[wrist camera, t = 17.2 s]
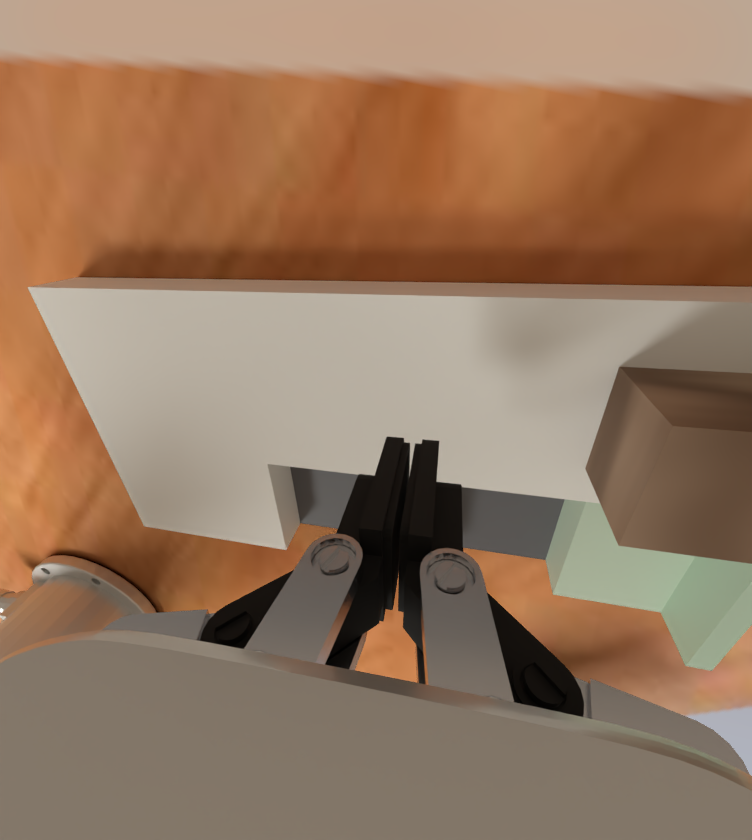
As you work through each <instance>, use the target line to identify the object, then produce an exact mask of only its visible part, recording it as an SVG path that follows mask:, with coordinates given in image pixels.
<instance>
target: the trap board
mask: <svg viewBox="0 0 752 840" xmlns="http://www.w3.org/2000/svg"><path fill="white" fill-rule="evenodd" d="M28 289H29V291H30V293H31V295H32V297H33V299H34V301H35V304H36V306H37V308H38V310H39V312H40V314H41V316H42V318H43V320H44V322H45V324H46V326H47V328H48V330H49V332H50V334H51V336H52V338H53V340H54V342H55V345H56V347H57V349H58V351H59V353H60V355H61V357H62V359H63V361H64V363H65V365H66V367H67V369H68V371H69V373H70V375H71V377H72V379H73V381H74V383H75V385H76V388H77V390H78V392H79V394H80V396H81V398H82V400H83V402H84V404H85V406H86V408H87V410H88V412H89V414H90V416H91V418H92V420H93V422H94V424H95V426H96V429H97V431H98V433H99V435H100V437H101V439H102V441H103V443H104V445H105V447H106V449H107V451H108V453H109V455H110V457H111V459H112V461H113V463H114V465H115V467H116V470H117V472H118V474H119V476H120V478H121V480H122V482H123V484H124V486H125V488H126V490H127V492H128V494H129V496H130V498H131V500H132V502H133V504H134V506H135V508H136V510H137V513H138V515H139V517H140V519H141V521H142V523H143V525H144V526H145V527H151V528H157V529H163V530H169V531H175V532H181V533H187V534H193V535H199V536H205V537H211V538H217V539H223V540H229V541H235V542H241V543H247V544H253V545H259V546H265V547H271V548H277V549H283V550H287V548H288V546H289V544H290V542H291V540H292V538H293V536H294V534H295V532H296V530H297V529H298V527H299V525H300V523H303V524H310V525H317V526H323V527H330V528H337V529H338V527H339V525H340V522H341V519H342V517H343V514H344V511H345V508H346V506H347V503H348V500H349V498H350V495H351V492H352V489H353V487H354V484H355V481H356V479H357V476H358V475H359V474H365V475H375V473H376V470H377V466H378V463H379V460H380V457H381V453H382V450H383V447H384V443H385V440H386V437H387V436H388V437H400V438H404V442H406V443H410V469H409V476H410V470H411V464H412V459H413V453H414V447H415V443H418V444H422V439H424V440H436V441H439V453H438V467H437V481H436V482H443V483H453V484H461V485H462V526H463V548H470V549H477V550H483V551H490V552H497V553H503V554H510V555H517V556H523V557H530V558H537V559H543V560H546V564H547V569H548V574H549V578H550V583H551V588H552V592H553V595H559V596H565V597H571V598H577V599H583V600H589V601H595V602H601V603H607V604H613V605H619V606H625V607H631V608H637V609H643V610H649V611H656V612H661V614H662V616H663V619H664V621H665V623H666V625H667V627H668V629H669V631H670V634H671V636H672V638H673V640H674V642H675V644H676V646H677V649H678V651H679V653H680V655H681V657H682V659H683V662H684V664H685V666H689V667H694V668H699V669H705V670H710V671H712V670H713V669H714V668H715V667H716V665H717V664H718V663H719V662H720V661H721V660H722V658H723V657H724V656H725V655H726V654H727V653H728V651H729V650H730V649H731V648H732V647H733V646H734V645H735V643H736V642H737V641H738V640H739V639H740V638H741V636H742V635H743V634H744V633H745V632H746V631H747V630H748V628H749V627H750V626H751V625H752V564H749V563H741V562H734V561H727V560H720V559H712V558H705V557H698V556H690V555H683V554H676V553H668V552H661V551H654V550H646V549H639V548H632V547H625V546H618V543H617V541H616V539H615V536H614V534H613V532H612V529H611V527H610V525H609V522H608V520H607V518H606V516H605V513H604V511H603V509H602V506H601V504H600V502H599V499H598V497H597V495H596V492H595V490H594V488H593V486H592V483H591V481H590V479H589V476H588V474H587V472H586V469H585V468H586V465H587V462H588V459H589V456H590V453H591V450H592V447H593V444H594V441H595V438H596V435H597V432H598V429H599V426H600V423H601V420H602V417H603V414H604V411H605V408H606V405H607V402H608V399H609V396H610V393H611V390H612V387H613V384H614V381H615V378H616V375H617V372H618V369H619V367H637V368H656V369H676V370H695V371H715V372H735V373H752V287H735V286H665V285H594V284H523V283H452V282H381V281H311V280H240V279H169V278H98V277H76V278H71V279H66V280H61V281H56V282H51V283H46V284H41V285H36V286H31V287H28Z"/></svg>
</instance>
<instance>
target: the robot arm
mask: <svg viewBox="0 0 752 840" xmlns="http://www.w3.org/2000/svg"><path fill="white" fill-rule="evenodd" d="M438 453H439V441H436V440H424V439H422V444H418V443H415V447H414V453H413V459H412V464H411V470H410V476H409V469H410V443H406V442H404V438H400V437H388V436H387V437H386V440H385V443H384V447H383V450H382V453H381V457H380V460H379V463H378V466H377V470H376V473H375V475H365V474H359V475H358V476H357V479H356V481H355V484H354V487H353V489H352V492H351V495H350V498H349V500H348V503H347V506H346V508H345V511H344V514H343V517H342V519H341V522H340V525H339V527H338V530H337V533H336V534H329V535H326V536H323V537H320V538H319V539H317V540H316V541H314V542H313V543H312V544H311V545H310V546H309V548H308V549H307V550H306V552H305V553H304V555H303V557H302V558H301V560H300V561H299V563H298V564H297V566H296V568H295V569H294V570H293V571H291V572H289V573H287V574H285V575H283V576H281V577H280V578H278V579H276V580H274V581H272V582H270V583H268V584H266V585H264V586H262V587H260V588H259V589H257V590H255V591H253V592H251V593H249V594H247V595H245V596H243V597H241V598H240V599H238V600H236V601H234V602H232V603H230V604H228V605H226V606H225V607H223V608H222V609H220V610H219V611H217V612H216V613H213V614H209V612H208V610H192V611H177V612H161V613H157V612H156V610H155V608H154V607H153V606H152V604H151V603H150V601H149V600H148V599H147V598H146V597H145V596H144V595H143V594H142V593H141V592H140V591H139V590H138V589H136V588H135V587H134V586H133V585H132V584H130V583H129V582H128V581H126V580H125V579H123V578H122V577H121V576H119V575H117V574H115V573H114V572H112V571H110V570H109V569H106V568H104V567H102V566H100V565H98V564H96V563H93V562H91V561H88V560H85V559H82V558H78V557H74V556H66V555H57V556H51V557H48V558H46V559H45V560H43V561H42V562H41V563H40V564H38V565H37V566H36V567H35V568H34V570H33V572H32V580H33V584H34V585H32V586H31V587H30V588H29V589H28V590H27V591H21V592H18V593H15V592H14V591H9V590H5V589H0V613H1V614H0V618H1V619H2V620H3V621H1V622H0V840H752V776H751V775H750V774H749V772H748V770H747V768H746V766H745V764H744V762H743V760H742V759H741V758H740V757H739V755H738V754H737V753H736V752H735V750H734V749H733V748H732V747H731V745H730V744H729V743H728V742H727V741H725V740H724V739H723V738H722V737H721V736H720V735H718V734H717V733H716V732H715V731H714V730H712V729H710V728H708V727H707V726H705V725H703V724H701V723H699V722H698V721H695V720H693V719H690V718H688V717H685V716H683V715H680V714H678V713H675V712H673V711H670V710H668V709H665V708H663V707H660V706H658V705H655V704H653V703H650V702H648V701H645V700H643V699H641V698H638V697H636V696H633V695H631V694H628V693H626V692H623V691H621V690H618V689H616V688H613V687H611V686H608V685H606V684H603V683H601V682H598V681H596V680H593V679H591V678H590V680H589V682H585V681H583V680H580V679H578V678H575V677H574V676H573V675H572V674H571V672H570V671H569V670H568V669H567V668H566V667H565V665H564V664H562V663H561V662H560V661H559V660H558V659H557V658H556V657H555V656H554V655H553V654H552V653H551V652H550V651H549V650H548V649H547V648H546V647H544V646H543V645H542V644H541V643H540V642H539V641H538V640H537V639H536V638H535V637H534V636H533V635H532V634H531V633H530V632H529V631H527V630H526V629H525V628H524V627H523V626H522V625H521V624H520V623H519V622H518V621H517V620H516V619H515V618H514V617H513V616H512V615H511V614H509V613H508V612H507V611H506V610H505V609H504V608H503V607H502V606H501V605H500V604H499V603H498V602H497V601H496V600H495V599H494V598H492V597H491V596H490V595H489V594H488V593H487V591H486V587H485V583H484V579H483V575H482V572H481V570H480V567H479V565H478V564H477V563H476V561H475V560H474V559H473V558H472V557H470V556H469V555H467V554H466V553H464V552H463V526H462V485H461V484H453V483H443V482H436V481H437V467H438ZM398 573H399V599H398V611H401V612H404V618H403V628H404V629H405V630H406V632H407V633H408V634H409V636H410V637H411V638H412V640H413V641H414V642H415V643H416V647H415V653H416V671H417V683H415V682H410V681H405V680H400V679H395V678H390V677H385V676H380V675H375V674H370V673H364V672H359V671H355V668H356V665H357V663H358V660H359V657H360V654H361V652H362V649H363V646H364V643H365V641H366V636H367V631H368V630H370V629H371V628H373V627H374V626H376V625H377V624H379V621H383V620H384V615H385V609H389V610H392V609H393V605H394V598H395V592H396V586H397V579H398Z"/></svg>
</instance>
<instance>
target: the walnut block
mask: <svg viewBox="0 0 752 840" xmlns="http://www.w3.org/2000/svg"><path fill="white" fill-rule="evenodd" d="M585 469H586V472H587V474H588V476H589V479H590V481H591V483H592V486H593V488H594V490H595V492H596V495H597V497H598V499H599V502H600V504H601V506H602V509H603V511H604V513H605V516H606V518H607V520H608V522H609V525H610V527H611V529H612V532H613V534H614V536H615V539H616V541H617V543H618V546H625V547H632V548H639V549H646V550H654V551H661V552H668V553H676V554H683V555H690V556H698V557H705V558H712V559H720V560H727V561H734V562H741V563H749V564H752V373H735V372H715V371H695V370H676V369H656V368H637V367H619V369H618V372H617V375H616V378H615V381H614V384H613V387H612V390H611V393H610V396H609V399H608V402H607V405H606V408H605V411H604V414H603V417H602V420H601V423H600V426H599V429H598V432H597V435H596V438H595V441H594V444H593V447H592V450H591V453H590V456H589V459H588V462H587V465H586V468H585Z"/></svg>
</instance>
